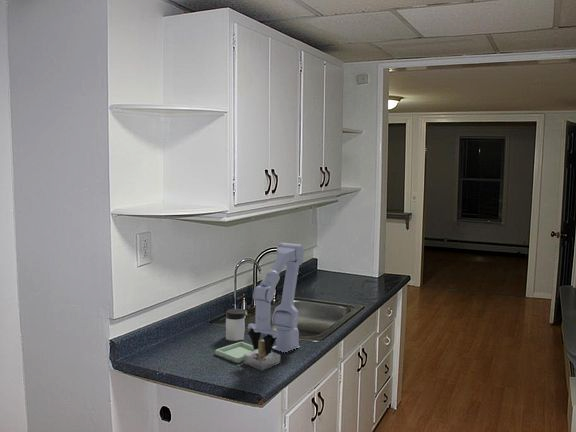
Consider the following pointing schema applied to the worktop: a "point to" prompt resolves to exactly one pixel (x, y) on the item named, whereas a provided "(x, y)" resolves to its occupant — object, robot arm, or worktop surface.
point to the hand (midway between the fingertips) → (262, 351)
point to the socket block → (261, 360)
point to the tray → (235, 351)
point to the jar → (235, 324)
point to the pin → (261, 348)
